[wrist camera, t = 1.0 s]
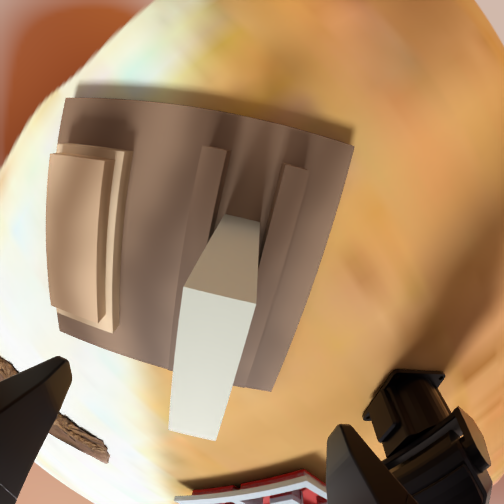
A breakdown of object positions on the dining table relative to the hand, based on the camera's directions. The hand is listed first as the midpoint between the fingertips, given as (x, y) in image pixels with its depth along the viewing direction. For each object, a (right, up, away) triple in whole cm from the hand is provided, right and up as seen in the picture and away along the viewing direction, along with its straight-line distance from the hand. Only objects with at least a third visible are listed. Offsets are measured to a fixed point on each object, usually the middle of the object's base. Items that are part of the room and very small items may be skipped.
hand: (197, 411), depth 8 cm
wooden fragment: (-27, -16, +19) cm, 37 cm away
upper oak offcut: (-9, +6, +8) cm, 13 cm away
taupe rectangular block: (0, +4, +10) cm, 10 cm away
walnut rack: (-4, +5, +10) cm, 12 cm away
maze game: (+9, -37, +26) cm, 46 cm away
